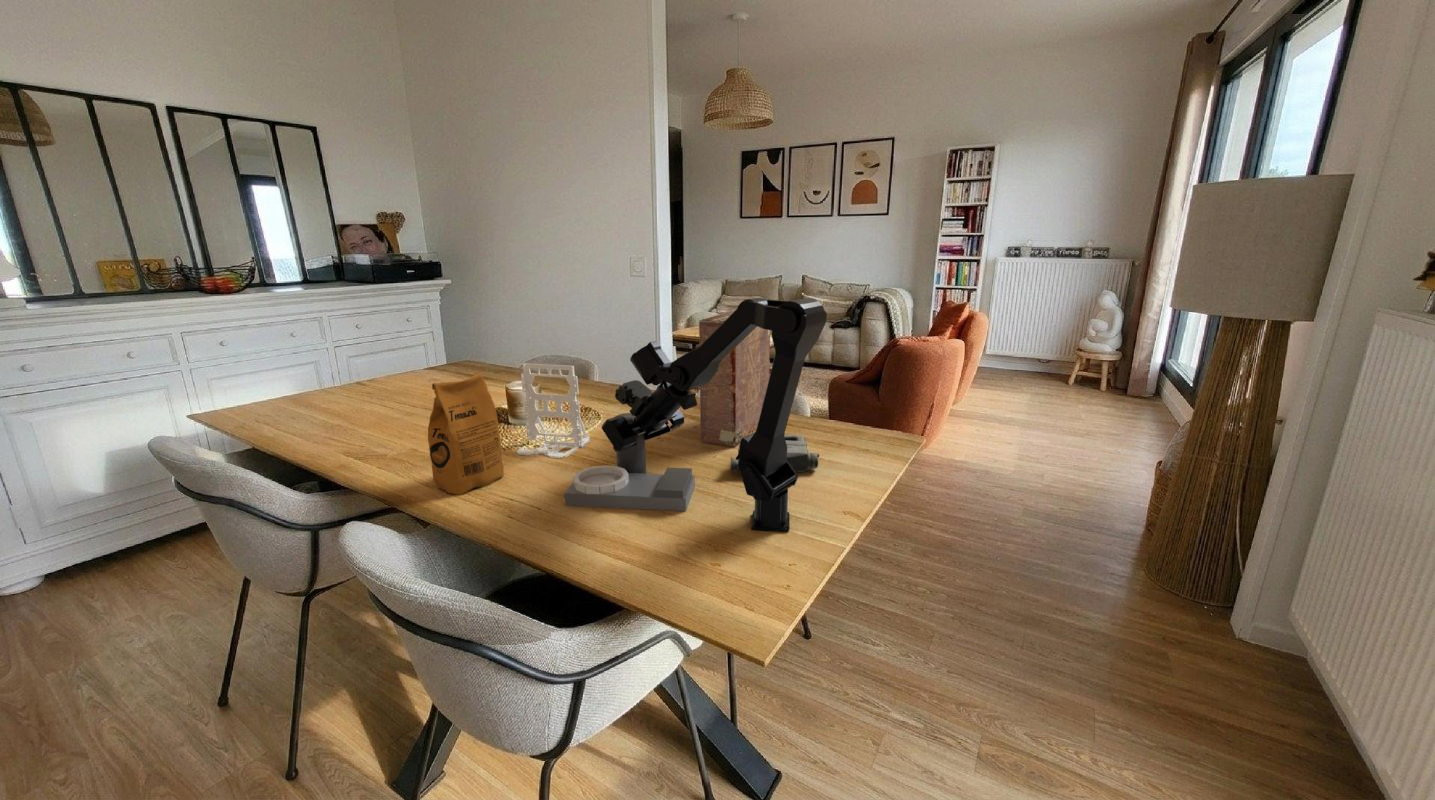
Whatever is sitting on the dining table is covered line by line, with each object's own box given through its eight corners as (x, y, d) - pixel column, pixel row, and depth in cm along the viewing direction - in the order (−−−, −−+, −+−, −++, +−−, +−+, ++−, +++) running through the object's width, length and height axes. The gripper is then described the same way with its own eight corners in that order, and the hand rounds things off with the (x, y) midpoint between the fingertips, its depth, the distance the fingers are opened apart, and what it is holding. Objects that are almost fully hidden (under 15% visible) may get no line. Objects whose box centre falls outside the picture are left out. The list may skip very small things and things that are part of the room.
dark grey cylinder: (643, 482, 116) (640, 422, 113) (613, 481, 117) (609, 421, 114) (649, 470, 122) (647, 413, 119) (621, 469, 123) (618, 412, 119)
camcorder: (825, 474, 121) (827, 451, 119) (731, 481, 117) (731, 457, 116) (801, 448, 136) (802, 427, 135) (717, 453, 133) (717, 432, 131)
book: (738, 414, 162) (738, 308, 153) (769, 418, 158) (771, 309, 150) (700, 442, 139) (698, 320, 131) (735, 447, 136) (735, 322, 127)
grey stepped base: (686, 511, 104) (685, 491, 103) (565, 505, 106) (563, 485, 105) (694, 486, 114) (694, 468, 113) (584, 482, 117) (582, 464, 116)
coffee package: (427, 487, 115) (411, 381, 109) (483, 467, 125) (470, 369, 119) (455, 499, 109) (439, 388, 103) (510, 477, 119) (499, 375, 113)
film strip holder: (510, 454, 132) (501, 370, 127) (541, 435, 145) (534, 358, 140) (567, 459, 129) (559, 373, 124) (593, 439, 142) (588, 361, 136)
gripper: (672, 362, 118) (636, 404, 128) (605, 379, 104) (570, 425, 113) (702, 404, 116) (663, 444, 125) (638, 428, 101) (600, 471, 111)
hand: (625, 445), depth 119 cm, fingers closed on dark grey cylinder, 6 cm apart
